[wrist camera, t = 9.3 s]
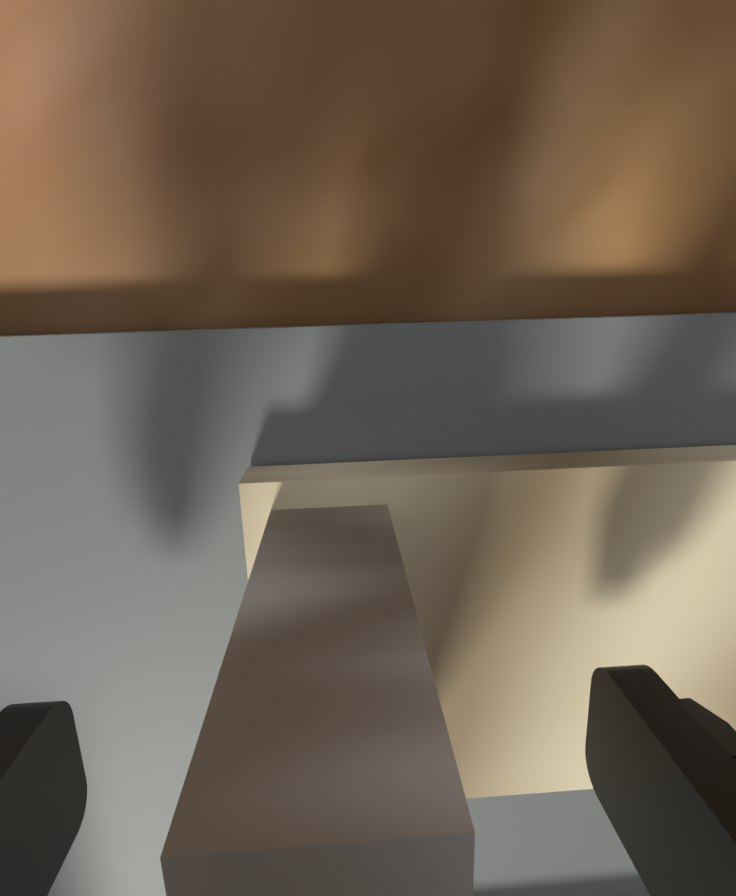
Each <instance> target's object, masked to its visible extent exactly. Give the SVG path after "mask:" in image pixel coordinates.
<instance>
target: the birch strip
mask: <svg viewBox="0 0 736 896" xmlns="http://www.w3.org/2000/svg"><path fill="white" fill-rule="evenodd" d="M239 493H240V503H241V514H242V524H243V535H244V545H245V556H246V566H247V577H248V583H247V586H246V589H245V593H244V596H243V599H242V602H241V605H240V608H239V611H238V615H237V618H236V621H235V624H234V627H233V630H232V633H231V637H230V640H229V643H228V646H227V649H226V652H225V655H224V659H223V662H222V665H221V668H220V671H219V674H218V677H217V681H216V684H215V687H214V690H213V693H212V696H211V699H210V702H209V706H208V709H207V712H206V715H205V718H204V721H203V724H202V728H201V731H200V734H199V737H198V740H197V743H196V746H195V750H194V753H193V756H192V759H191V762H190V765H189V768H188V772H187V775H186V778H185V781H184V784H183V787H182V790H181V794H180V797H179V800H178V803H177V806H176V809H175V812H174V816H173V819H172V822H171V825H170V828H169V831H168V834H167V837H166V841H165V844H164V847H163V850H162V853H161V856H160V861H161V867H162V873H163V879H164V885H165V891H166V896H473V885H474V848H475V831H474V827H473V823H472V820H471V816H470V812H469V808H468V805H467V801H466V799H469V798H481V797H494V796H507V795H520V794H533V793H546V792H559V791H572V790H585V789H593V786H592V783H591V780H590V777H589V773H588V769H587V764H586V757H585V743H586V732H587V721H588V710H589V698H590V687H591V678H592V674H593V672H594V670H595V669H596V668H598V667H613V666H628V665H647V666H649V667H651V668H652V669H653V670H654V671H655V672H656V673H657V674H658V675H659V676H660V677H661V678H662V680H663V681H664V682H665V683H666V684H667V685H668V686H669V688H670V689H671V690H672V691H673V692H674V693H675V694H676V695H677V697H678V698H679V699H682V698H691V699H693V700H694V701H696V702H697V703H699V704H700V705H702V706H703V707H705V708H706V709H708V710H709V711H711V712H712V713H714V714H715V715H717V716H718V717H720V718H721V719H723V720H725V721H726V722H728V723H729V724H730V725H731V726H732V728H733V729H734V730H735V731H736V445H723V446H700V447H678V448H656V449H633V450H611V451H589V452H566V453H544V454H522V455H499V456H477V457H455V458H432V459H410V460H388V461H365V462H343V463H321V464H298V465H276V466H254V467H248V468H247V469H246V471H245V473H244V475H243V477H242V478H241V480H240V482H239Z"/></svg>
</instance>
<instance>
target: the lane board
mask: <svg viewBox="0 0 736 896" xmlns="http://www.w3.org/2000/svg"><path fill="white" fill-rule="evenodd" d="M723 445H736V312H723V313H692V314H660V315H629V316H597V317H566V318H534V319H503V320H471V321H440V322H408V323H377V324H345V325H314V326H282V327H251V328H220V329H188V330H157V331H125V332H94V333H62V334H31V335H0V711H1V710H2V709H4V708H5V707H6V706H8V705H10V704H19V703H34V702H50V701H66V702H67V703H69V705H70V706H71V708H72V711H73V715H74V720H75V725H76V730H77V735H78V740H79V745H80V750H81V755H82V760H83V765H84V770H85V775H86V780H87V802H86V808H85V813H84V817H83V820H82V824H81V826H80V829H79V832H78V834H77V836H76V838H75V840H74V842H73V844H72V846H71V848H70V850H69V852H68V854H67V856H66V858H65V861H64V863H63V865H62V867H61V869H60V871H59V873H58V875H57V877H56V879H55V881H54V883H53V885H52V887H51V889H50V891H49V893H48V895H47V896H166V891H165V885H164V879H163V873H162V867H161V861H160V856H161V853H162V850H163V847H164V844H165V841H166V837H167V834H168V831H169V828H170V825H171V822H172V819H173V816H174V812H175V809H176V806H177V803H178V800H179V797H180V794H181V790H182V787H183V784H184V781H185V778H186V775H187V772H188V768H189V765H190V762H191V759H192V756H193V753H194V750H195V746H196V743H197V740H198V737H199V734H200V731H201V728H202V724H203V721H204V718H205V715H206V712H207V709H208V706H209V702H210V699H211V696H212V693H213V690H214V687H215V684H216V681H217V677H218V674H219V671H220V668H221V665H222V662H223V659H224V655H225V652H226V649H227V646H228V643H229V640H230V637H231V633H232V630H233V627H234V624H235V621H236V618H237V615H238V611H239V608H240V605H241V602H242V599H243V596H244V593H245V589H246V586H247V583H248V577H247V566H246V556H245V545H244V535H243V524H242V514H241V503H240V493H239V482H240V480H241V478H242V477H243V475H244V473H245V471H246V469H247V468H248V467H254V466H276V465H298V464H321V463H343V462H365V461H388V460H410V459H432V458H455V457H477V456H499V455H522V454H544V453H566V452H589V451H611V450H633V449H656V448H678V447H700V446H723ZM466 801H467V805H468V808H469V812H470V816H471V820H472V823H473V827H474V831H475V848H474V885H473V896H650V894H649V892H648V891H647V889H646V887H645V885H644V883H643V881H642V879H641V878H640V876H639V874H638V872H637V870H636V868H635V866H634V865H633V863H632V861H631V859H630V857H629V855H628V853H627V851H626V850H625V848H624V846H623V844H622V842H621V840H620V838H619V837H618V835H617V833H616V831H615V829H614V827H613V825H612V824H611V822H610V820H609V818H608V816H607V814H606V812H605V811H604V809H603V807H602V805H601V803H600V801H599V799H598V797H597V795H596V793H595V791H594V789H585V790H572V791H559V792H546V793H533V794H520V795H507V796H494V797H481V798H469V799H466Z"/></svg>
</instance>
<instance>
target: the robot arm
mask: <svg viewBox="0 0 736 896" xmlns="http://www.w3.org/2000/svg"><path fill="white" fill-rule="evenodd" d="M585 757H586V764H587V769H588V773H589V777H590V780H591V783H592V786H593V789H594V791H595V793H596V795H597V797H598V799H599V801H600V803H601V805H602V807H603V809H604V811H605V812H606V814H607V816H608V818H609V820H610V822H611V824H612V825H613V827H614V829H615V831H616V833H617V835H618V837H619V838H620V840H621V842H622V844H623V846H624V848H625V850H626V851H627V853H628V855H629V857H630V859H631V861H632V863H633V865H634V866H635V868H636V870H637V872H638V874H639V876H640V878H641V879H642V881H643V883H644V885H645V887H646V889H647V891H648V892H649V894H650V896H736V731H735V730H734V729H733V728H732V726H731V725H730V724H729V723H728V722H726V721H725V720H723V719H721V718H720V717H718V716H717V715H715V714H714V713H712V712H711V711H709V710H708V709H706V708H705V707H703V706H702V705H700V704H699V703H697V702H696V701H694V700H693V699H691V698H682V699H679V698H678V697H677V695H676V694H675V693H674V692H673V691H672V690H671V689H670V688H669V686H668V685H667V684H666V683H665V682H664V681H663V680H662V678H661V677H660V676H659V675H658V674H657V673H656V672H655V671H654V670H653V669H652V668H651V667H649V666H647V665H628V666H613V667H598V668H596V669H595V670H594V672H593V674H592V678H591V687H590V698H589V710H588V721H587V732H586V743H585ZM86 802H87V780H86V775H85V770H84V765H83V760H82V755H81V750H80V745H79V740H78V735H77V730H76V725H75V720H74V715H73V711H72V708H71V706H70V705H69V703H67V702H66V701H50V702H34V703H19V704H10V705H8V706H6V707H5V708H4V709H2V710H1V711H0V896H47V895H48V893H49V891H50V889H51V887H52V885H53V883H54V881H55V879H56V877H57V875H58V873H59V871H60V869H61V867H62V865H63V863H64V861H65V858H66V856H67V854H68V852H69V850H70V848H71V846H72V844H73V842H74V840H75V838H76V836H77V834H78V832H79V829H80V826H81V824H82V820H83V817H84V813H85V808H86Z"/></svg>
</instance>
